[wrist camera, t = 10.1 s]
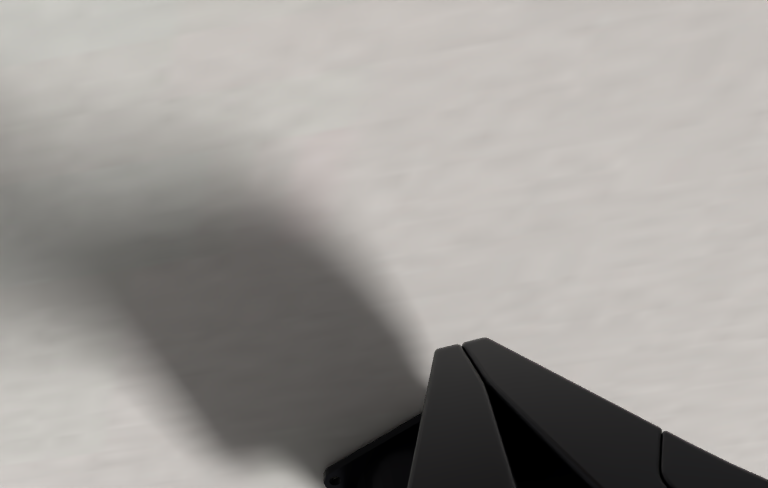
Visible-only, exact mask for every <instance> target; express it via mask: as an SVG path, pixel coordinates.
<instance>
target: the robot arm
mask: <svg viewBox="0 0 768 488" xmlns="http://www.w3.org/2000/svg"><path fill="white" fill-rule="evenodd" d="M332 477H338V478H336V479H332ZM324 484H325V486H326V487H327V488H768V480H767V479H765V478H763V477H761V476H758V475H756V474H754V473H752V472H749V471H747V470H745V469H743V468H740V467H738V466H736V465H734V464H731V463H729V462H727V461H725V460H723V459H721V458H719V457H717V456H715V455H713V454H711V453H709V452H707V451H705V450H703V449H701V448H699V447H697V446H695V445H693V444H691V443H689V442H687V441H685V440H683V439H681V438H679V437H677V436H675V435H673V434H672V433H670V432H668V431H664V432H663V433H662V429H661V428H660V427H658V426H656V425H654V424H652V423H650V422H648V421H646V420H644V419H642V418H640V417H638V416H637V415H635V414H633V413H631V412H629V411H627V410H625V409H623V408H621V407H619V406H617V405H615V404H614V403H612V402H610V401H608V400H606V399H604V398H602V397H600V396H598V395H596V394H594V393H592V392H590V391H589V390H587V389H585V388H583V387H581V386H579V385H577V384H575V383H573V382H571V381H569V380H567V379H566V378H564V377H562V376H560V375H558V374H556V373H554V372H552V371H550V370H548V369H546V368H544V367H543V366H541V365H539V364H537V363H535V362H533V361H531V360H529V359H527V358H525V357H523V356H521V355H519V354H518V353H516V352H514V351H512V350H510V349H508V348H506V347H504V346H502V345H500V344H498V343H496V342H495V341H493V340H491V339H489V338H480V339H476V340H472V341H468V342H465V343H463V344H462V347H461V346H460V345H458V344H456V345H452V346H447V347H443V348H439V349H437V350H436V351H435V353H434V357H433V362H432V367H431V372H430V377H429V382H428V387H427V392H426V397H425V402H424V407H423V412H422V414H420V415H418V416H416V417H415V418H413V419H411V420H410V421H408V422H406V423H404V424H403V425H401V426H399V427H397V428H396V429H394V430H392V431H391V432H389V433H387V434H385V435H384V436H382V437H380V438H379V439H377V440H375V441H373V442H372V443H370V444H368V445H366V446H365V447H363V448H361V449H360V450H358V451H356V452H354V453H353V454H351V455H349V456H348V457H346V458H344V459H342V460H341V461H339V462H337V463H335V464H334V465H332V466H330V467H329V468H327V469H326V470H325V472H324Z"/></svg>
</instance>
